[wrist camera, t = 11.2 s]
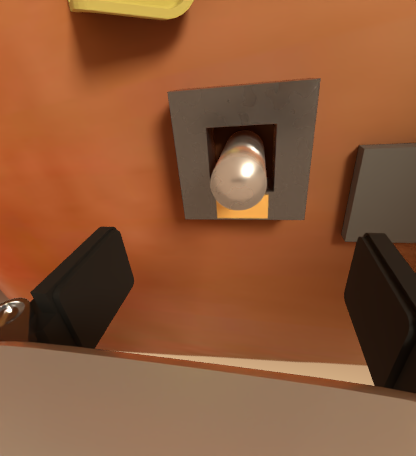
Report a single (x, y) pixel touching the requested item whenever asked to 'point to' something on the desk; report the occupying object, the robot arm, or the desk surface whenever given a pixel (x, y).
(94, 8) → the plastic component
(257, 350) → the desk surface
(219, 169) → the peg
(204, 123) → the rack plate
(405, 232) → the pad
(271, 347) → the desk surface
